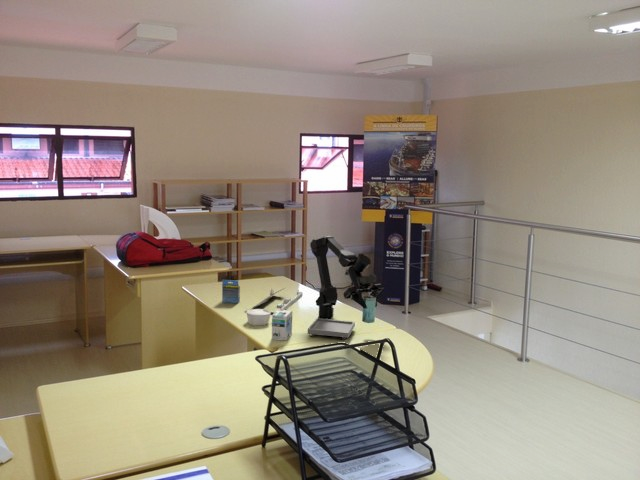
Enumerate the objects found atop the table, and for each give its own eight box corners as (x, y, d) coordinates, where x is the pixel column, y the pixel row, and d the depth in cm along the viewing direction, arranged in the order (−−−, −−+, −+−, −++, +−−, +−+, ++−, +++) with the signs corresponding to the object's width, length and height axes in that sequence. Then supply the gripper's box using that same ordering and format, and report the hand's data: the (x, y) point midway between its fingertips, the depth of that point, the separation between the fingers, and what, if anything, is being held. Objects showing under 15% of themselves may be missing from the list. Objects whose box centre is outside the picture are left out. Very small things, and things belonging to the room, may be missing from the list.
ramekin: (275, 323, 281) (275, 312, 280) (255, 327, 274) (255, 316, 273) (261, 318, 289) (261, 307, 289) (241, 321, 282) (242, 311, 281)
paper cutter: (302, 296, 337) (302, 286, 336) (278, 316, 294) (278, 305, 293) (271, 293, 341) (272, 284, 341) (243, 313, 298) (243, 302, 298)
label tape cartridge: (240, 301, 319) (240, 278, 318) (238, 303, 315) (238, 280, 314) (223, 300, 320) (224, 278, 318) (221, 302, 316) (222, 279, 315)
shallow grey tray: (307, 337, 261) (307, 329, 261) (316, 326, 279) (316, 318, 278) (348, 341, 258) (348, 333, 257) (354, 329, 275) (354, 321, 275)
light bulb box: (286, 340, 256) (286, 316, 254) (271, 339, 257) (271, 315, 256) (292, 333, 266) (293, 310, 265) (277, 332, 268) (278, 308, 266)
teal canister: (361, 322, 264) (362, 297, 262) (363, 318, 269) (364, 295, 267) (373, 323, 262) (374, 299, 261) (375, 320, 268) (376, 296, 266)
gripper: (348, 269, 260) (362, 300, 253) (381, 266, 271) (396, 295, 263) (337, 283, 268) (350, 313, 261) (370, 279, 278) (383, 308, 271)
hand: (370, 307), depth 264 cm, fingers closed on teal canister, 5 cm apart
